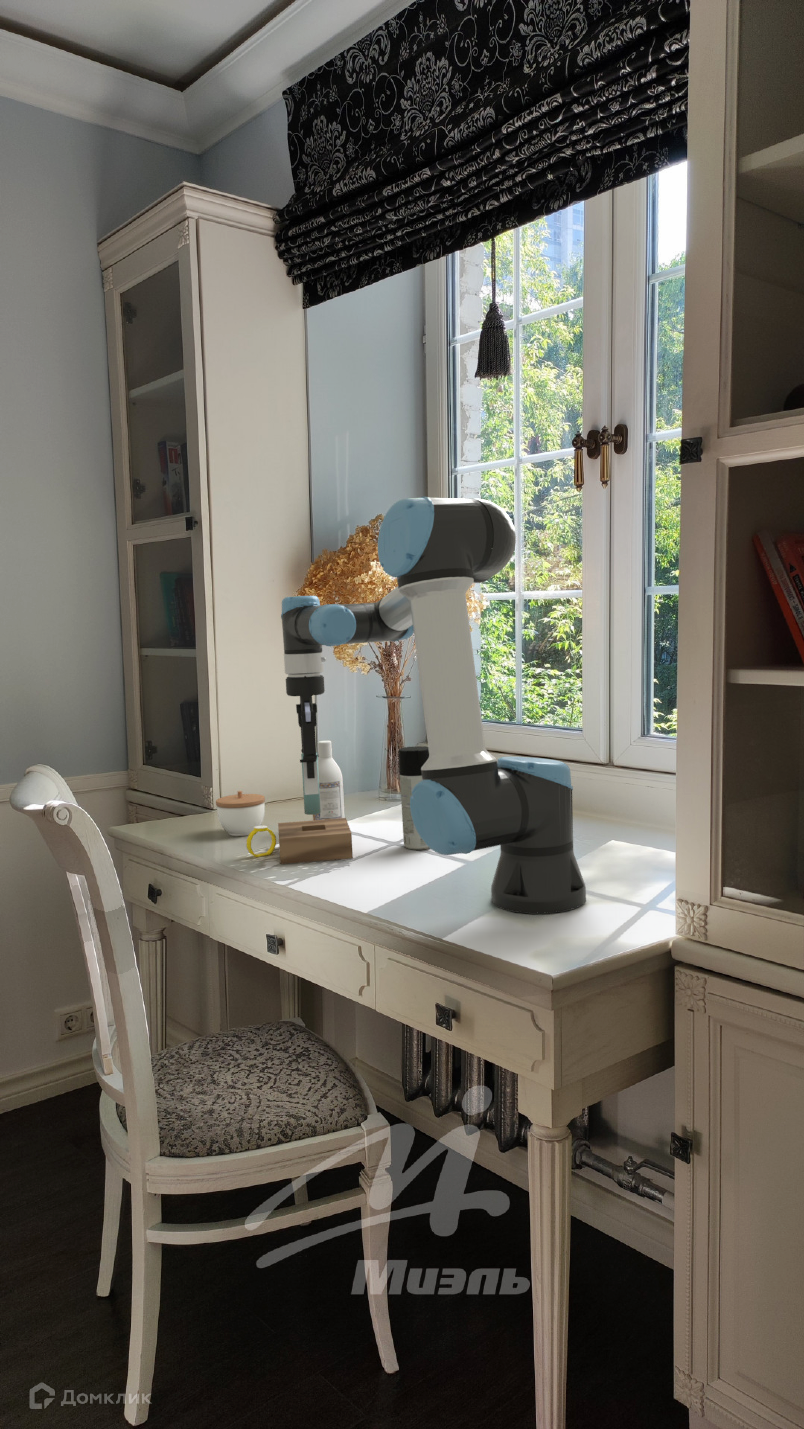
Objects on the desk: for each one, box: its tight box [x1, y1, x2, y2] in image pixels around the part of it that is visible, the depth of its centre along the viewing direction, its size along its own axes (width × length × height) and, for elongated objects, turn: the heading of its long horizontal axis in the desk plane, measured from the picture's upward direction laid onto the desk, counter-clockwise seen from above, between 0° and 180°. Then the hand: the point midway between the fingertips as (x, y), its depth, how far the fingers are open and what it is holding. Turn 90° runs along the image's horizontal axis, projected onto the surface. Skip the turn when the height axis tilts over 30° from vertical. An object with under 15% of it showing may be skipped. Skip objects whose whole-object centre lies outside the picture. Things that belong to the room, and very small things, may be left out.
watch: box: [246, 825, 277, 858], centre depth 194 cm, size 6×3×6 cm, turn 125°
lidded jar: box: [215, 790, 266, 837], centre depth 214 cm, size 11×11×9 cm
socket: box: [277, 817, 354, 865], centre depth 194 cm, size 14×14×5 cm
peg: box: [300, 752, 321, 816], centre depth 193 cm, size 3×3×12 cm
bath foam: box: [312, 740, 346, 820], centre depth 210 cm, size 7×7×20 cm
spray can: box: [398, 745, 431, 851], centre depth 194 cm, size 7×7×20 cm
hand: (311, 792), depth 193 cm, fingers closed on peg, 3 cm apart
